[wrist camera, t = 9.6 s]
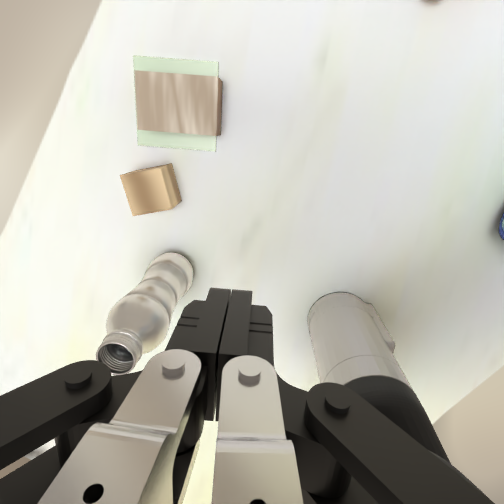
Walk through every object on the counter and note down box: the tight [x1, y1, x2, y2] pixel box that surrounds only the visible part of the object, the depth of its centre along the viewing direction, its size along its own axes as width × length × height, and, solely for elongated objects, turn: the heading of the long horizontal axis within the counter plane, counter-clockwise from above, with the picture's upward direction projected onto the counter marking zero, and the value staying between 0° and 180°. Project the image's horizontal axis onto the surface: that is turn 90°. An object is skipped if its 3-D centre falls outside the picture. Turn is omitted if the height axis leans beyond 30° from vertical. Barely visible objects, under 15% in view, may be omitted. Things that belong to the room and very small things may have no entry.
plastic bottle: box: [96, 252, 193, 375], centre depth 38 cm, size 6×7×20 cm
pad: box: [133, 56, 219, 152], centre depth 40 cm, size 10×10×1 cm
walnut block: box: [134, 70, 222, 136], centre depth 38 cm, size 4×6×9 cm
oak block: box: [120, 164, 182, 216], centre depth 41 cm, size 5×5×5 cm
